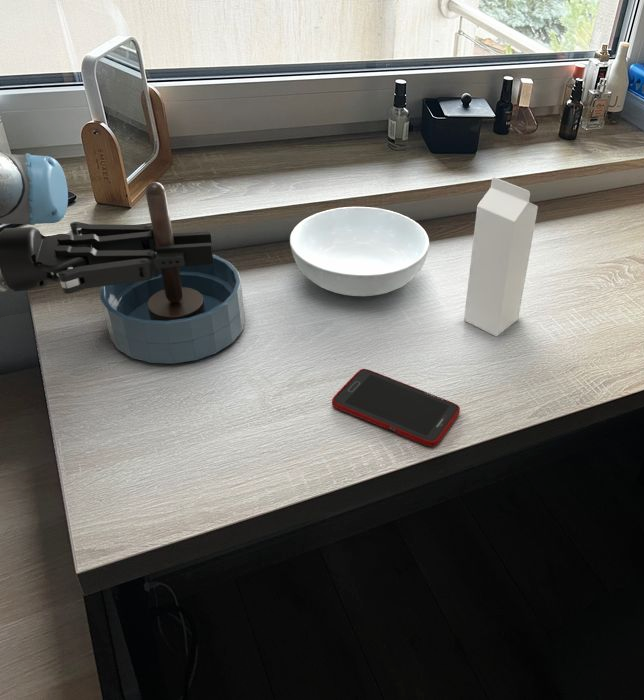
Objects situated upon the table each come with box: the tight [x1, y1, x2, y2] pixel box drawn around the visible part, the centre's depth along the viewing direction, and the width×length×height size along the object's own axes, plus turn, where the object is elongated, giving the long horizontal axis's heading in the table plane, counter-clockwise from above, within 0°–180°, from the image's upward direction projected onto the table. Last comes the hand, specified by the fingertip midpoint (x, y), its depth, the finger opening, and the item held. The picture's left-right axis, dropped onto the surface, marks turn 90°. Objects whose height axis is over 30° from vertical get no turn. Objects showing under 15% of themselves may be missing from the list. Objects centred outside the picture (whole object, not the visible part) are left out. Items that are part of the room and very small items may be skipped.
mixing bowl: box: [99, 252, 246, 364], centre depth 97 cm, size 17×17×7 cm
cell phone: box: [331, 368, 461, 448], centre depth 90 cm, size 8×15×1 cm, turn 65°
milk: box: [463, 176, 539, 337], centre depth 101 cm, size 6×6×22 cm
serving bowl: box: [289, 206, 430, 297], centre depth 111 cm, size 21×21×7 cm
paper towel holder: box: [144, 181, 205, 321], centre depth 92 cm, size 7×7×20 cm
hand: (211, 247), depth 93 cm, fingers closed on paper towel holder, 2 cm apart
